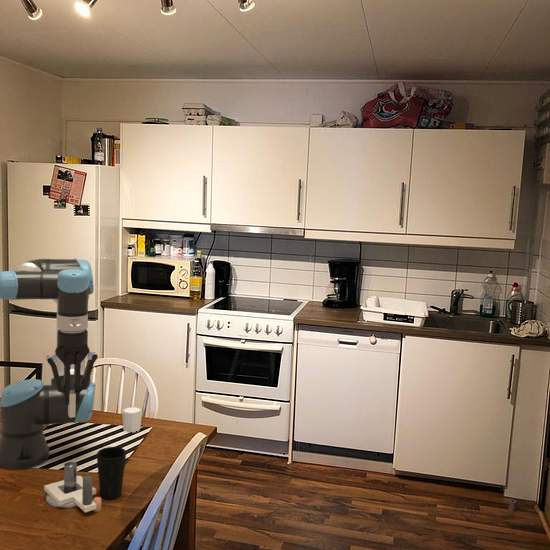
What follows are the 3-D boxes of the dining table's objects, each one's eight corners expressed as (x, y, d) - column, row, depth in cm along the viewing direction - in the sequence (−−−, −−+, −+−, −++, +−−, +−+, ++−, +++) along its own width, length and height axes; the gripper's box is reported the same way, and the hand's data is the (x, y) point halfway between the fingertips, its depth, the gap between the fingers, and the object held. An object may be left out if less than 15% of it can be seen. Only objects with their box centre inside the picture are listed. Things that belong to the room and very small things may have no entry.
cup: (109, 504, 158) (110, 461, 156) (89, 495, 162) (90, 453, 160) (131, 493, 164) (132, 451, 163) (111, 485, 168) (112, 444, 167)
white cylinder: (146, 428, 209) (146, 409, 208) (131, 434, 203) (132, 415, 202) (132, 423, 212) (132, 404, 211) (117, 429, 206) (117, 410, 205)
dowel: (91, 510, 154) (91, 499, 154) (95, 507, 156) (96, 496, 156) (98, 512, 154) (98, 501, 153) (102, 508, 156) (102, 497, 155)
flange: (44, 489, 161) (44, 460, 160) (79, 479, 168) (80, 451, 167) (71, 517, 149) (72, 485, 148) (108, 504, 155) (109, 474, 154)
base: (36, 502, 157) (36, 469, 156) (65, 482, 168) (65, 451, 167) (75, 511, 154) (76, 478, 152) (102, 490, 165) (102, 459, 164)
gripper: (47, 335, 150) (47, 424, 154) (101, 331, 156) (99, 417, 160) (44, 327, 156) (43, 412, 160) (95, 324, 162) (94, 407, 166)
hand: (71, 415), depth 160 cm, fingers closed
